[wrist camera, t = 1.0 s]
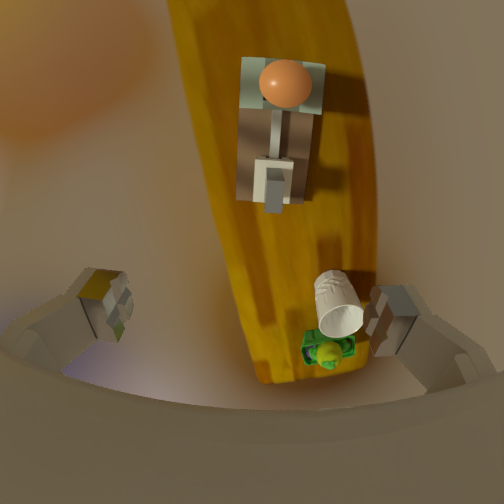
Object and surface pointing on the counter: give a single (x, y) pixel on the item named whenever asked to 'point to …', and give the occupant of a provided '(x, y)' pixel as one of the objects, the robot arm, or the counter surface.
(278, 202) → the carriage
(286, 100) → the button
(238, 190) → the rail bed
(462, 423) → the robot arm
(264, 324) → the counter surface
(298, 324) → the counter surface
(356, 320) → the white cup
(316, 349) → the fruit basket
